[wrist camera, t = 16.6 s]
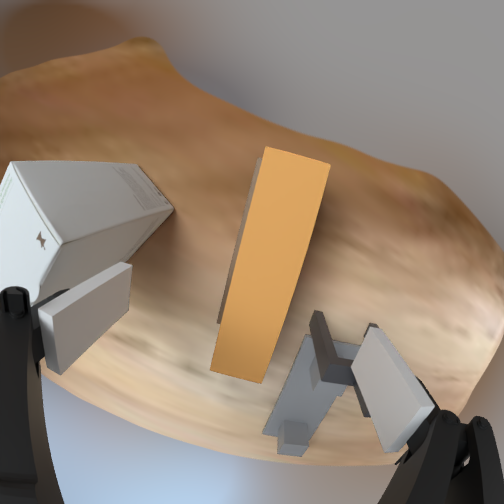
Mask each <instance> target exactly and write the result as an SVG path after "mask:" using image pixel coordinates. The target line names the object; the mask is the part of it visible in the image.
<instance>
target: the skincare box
mask: <svg viewBox="0 0 504 504" xmlns="http://www.w3.org/2000/svg"><path fill="white" fill-rule="evenodd" d="M173 211H174V207H173V206H172V205H171V204H170V203H169V202H168V200H167V199H166V198H165V197H164V196H163V194H162V193H161V192H160V191H159V190H158V189H157V187H156V186H155V185H154V184H153V183H152V182H151V180H150V179H149V178H148V177H147V176H146V175H145V173H144V172H143V171H142V170H141V169H140V168H139V166H138V165H137V164H127V163H109V162H87V161H11V162H10V164H9V166H8V168H7V171H6V173H5V175H4V178H3V180H2V183H1V185H0V292H1V291H2V290H3V289H5V288H7V287H10V286H19V287H23V288H25V289H27V290H28V291H29V295H30V305H31V307H32V306H33V305H35V304H37V303H38V302H40V301H42V300H44V299H46V298H47V297H49V296H52V294H54V293H56V292H58V291H60V290H64V289H68V288H69V289H72V288H74V287H75V286H77V285H79V284H81V283H82V282H84V281H86V280H88V279H90V278H91V277H93V276H95V275H97V274H99V273H100V272H102V271H104V270H106V269H108V268H110V267H111V266H113V265H115V264H117V263H119V262H126V261H127V260H128V259H129V258H130V257H131V256H132V255H133V254H134V253H135V252H136V251H137V250H138V249H139V247H140V246H141V245H142V244H143V243H144V242H145V241H146V240H147V239H148V238H149V237H150V235H151V234H152V233H153V232H154V231H155V230H156V229H157V228H158V227H159V226H160V225H161V224H162V223H163V222H164V220H165V219H166V218H167V217H168V216H169V215H170V214H171V213H172V212H173Z"/></svg>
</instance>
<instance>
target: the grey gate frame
mask: <svg viewBox="0 0 504 504" xmlns="http://www.w3.org/2000/svg"><path fill="white" fill-rule="evenodd" d="M309 327H310V331H311V336H312V340H313V345H314V349H315V354H316V359H317V364H318V368H319V373H320V378H321V381H323V382H329V383H335V384H342V385H349V386H354V389H355V392H356V395H357V398H358V400H359V403H360V406H361V410H362V413H363V416H364V417H371V416H370V413H369V411H368V408H367V406H366V403H365V401H364V398H363V396H362V393H361V391H360V388H359V386H358V383H357V381H356V378H355V376H354V373H353V371H352V369H351V365H352V363H353V361H354V360H351V359H345V358H339V357H338V356H337V353H336V350H335V347H334V344H333V341H332V338H331V335H330V332H329V329H328V326H327V324H326V321H325V318H324V315H323V312H320V311H316V310H314V313H313V316H312V318H311V321H310V324H309ZM370 327H374V328H379V327H378V326H377V324H373V323H370V324H369V326H368V328H367V330H366V333H365V335H364V338H365V336H366V334H367V332H368V330H369V328H370Z"/></svg>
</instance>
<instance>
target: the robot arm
mask: <svg viewBox="0 0 504 504" xmlns="http://www.w3.org/2000/svg"><path fill="white" fill-rule="evenodd" d="M132 268H133V265H130V264H127V263H124V262H119V263H117V264H115V265H113V266H111V267H110V268H108V269H106V270H104V271H102V272H100V273H99V274H97V275H95V276H93V277H91V278H90V279H88V280H86V281H84V282H82V283H81V284H79V285H77V286H75V287H74V288H72V289H69V288H68V289H64V290H60V291H58V292H56V293H54V294H52V296H49V297H47V298H46V299H44V300H42V301H40V302H38V303H37V304H35V305H33V306H32V307H31V305H30V295H29V291H28V290H27V289H25V288H23V287H19V286H10V287H7V288H5V289H3V290H2V291H1V292H0V504H64V501H63V498H62V495H61V492H60V489H59V485H58V481H57V478H56V474H55V470H54V466H53V462H52V458H51V453H50V448H49V443H48V437H47V431H46V425H45V417H44V409H43V399H42V386H41V366H40V362H39V361H40V360H41V359H42V358H43V357H44V356H45V360H46V365H47V368H49V369H51V370H52V371H54V372H56V373H57V374H59V375H62V374H63V373H64V372H65V371H66V370H67V369H68V368H69V367H70V366H71V365H72V364H73V363H74V362H75V361H76V360H77V359H78V358H79V357H80V356H81V355H82V354H83V353H84V352H85V351H86V350H87V349H88V348H89V347H90V346H91V345H92V344H93V343H94V342H95V341H96V340H97V339H99V338H100V337H101V336H102V335H103V334H104V333H105V332H106V331H107V330H108V329H109V328H110V327H111V326H112V325H113V324H114V323H115V322H117V321H118V320H119V319H120V318H121V317H122V316H123V315H124V314H125V313H126V312H127V311H128V310H129V298H130V287H131V277H132ZM351 369H352V371H353V373H354V376H355V378H356V381H357V383H358V386H359V388H360V391H361V393H362V396H363V398H364V401H365V403H366V406H367V408H368V411H369V413H370V416H371V419H372V421H373V424H374V426H375V429H376V432H377V434H378V437H379V440H380V442H381V445H382V448H383V451H384V453H389V452H398V451H399V450H400V449H401V448H402V447H403V446H404V445H405V444H406V443H407V445H408V447H409V449H408V450H407V451H406V452H405V453H404V454H403V455H402V456H401V457H400V459H399V460H398V461H397V462H396V463H395V465H397V464H398V463H399V462H400V464H399V466H398V468H397V470H396V472H395V474H394V476H393V477H392V479H391V481H390V483H389V485H388V487H387V488H386V490H385V492H384V494H383V495H382V497H381V499H380V501H379V502H378V504H504V479H503V474H502V469H501V463H500V458H499V454H498V449H497V445H496V441H495V437H494V434H493V430H492V427H491V425H490V423H489V422H488V420H487V419H485V418H484V417H480V416H475V417H474V418H473V419H472V420H471V421H470V423H469V424H463V423H460V420H459V418H458V417H457V416H456V415H455V414H454V413H452V412H451V411H448V410H440V408H439V406H438V405H437V403H436V402H435V400H434V399H433V397H432V396H431V394H429V391H428V390H427V389H426V387H425V386H424V384H423V383H422V381H421V380H420V379H418V378H417V377H416V376H415V375H414V374H413V373H412V371H411V370H410V368H409V367H408V365H407V364H406V362H405V361H404V360H403V358H402V357H401V355H400V354H399V353H398V351H397V350H396V348H395V347H394V346H393V344H392V343H391V341H390V340H389V339H388V337H387V336H386V335H385V333H384V332H383V330H382V329H380V328H374V327H370V328H369V330H368V332H367V334H366V336H365V339H364V341H363V343H362V345H361V347H360V349H359V351H358V353H357V355H356V357H355V359H354V361H353V363H352V365H351ZM469 457H470V460H469V463H468V464H467V465H466V466H465V467H464V462H465V461H466V460H467V459H468V458H469Z"/></svg>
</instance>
